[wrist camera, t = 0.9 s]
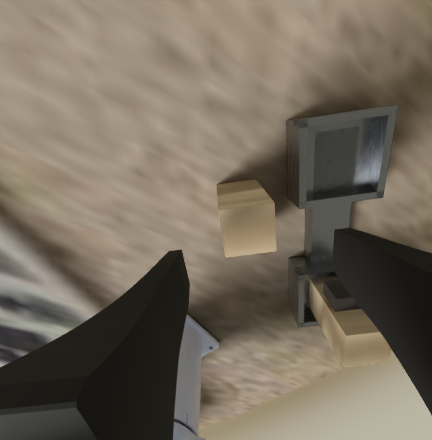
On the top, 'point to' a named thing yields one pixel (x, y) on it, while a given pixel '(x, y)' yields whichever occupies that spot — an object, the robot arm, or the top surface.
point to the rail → (332, 185)
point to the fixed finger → (346, 324)
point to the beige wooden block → (246, 218)
